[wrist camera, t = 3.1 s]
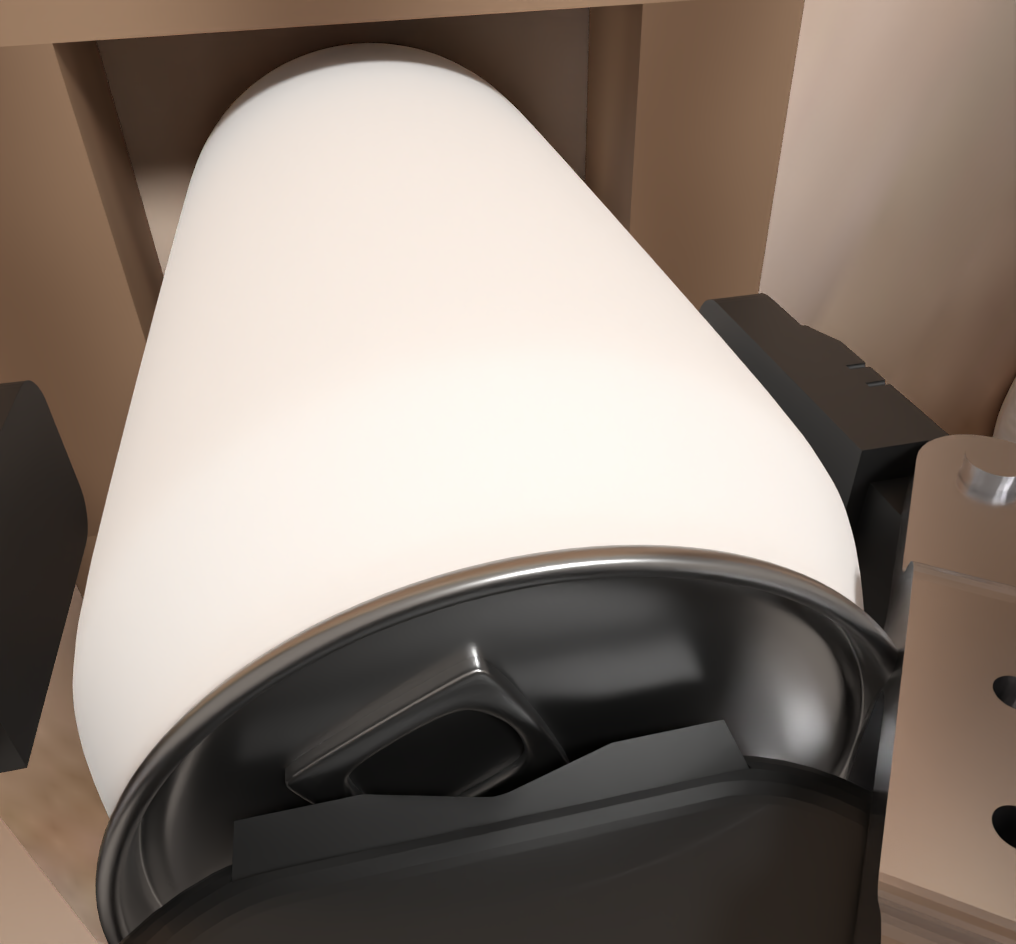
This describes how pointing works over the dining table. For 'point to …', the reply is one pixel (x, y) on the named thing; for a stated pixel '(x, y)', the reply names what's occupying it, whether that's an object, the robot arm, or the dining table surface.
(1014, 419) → the ramekin
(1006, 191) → the dining table surface
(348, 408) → the can
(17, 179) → the square wooden frame
